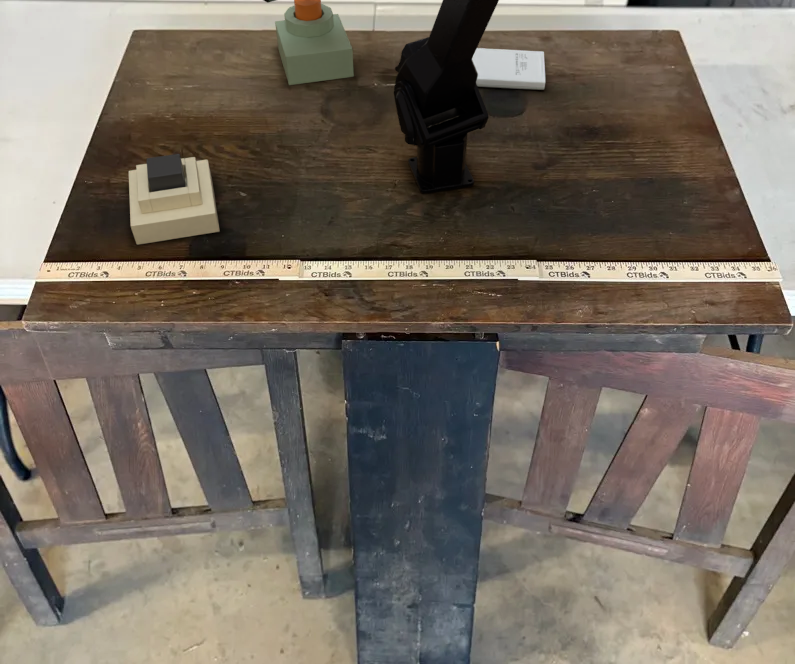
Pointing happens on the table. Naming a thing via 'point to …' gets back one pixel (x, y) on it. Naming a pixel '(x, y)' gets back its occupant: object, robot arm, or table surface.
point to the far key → (308, 9)
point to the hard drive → (510, 68)
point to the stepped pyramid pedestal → (173, 205)
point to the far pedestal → (314, 48)
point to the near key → (165, 172)
